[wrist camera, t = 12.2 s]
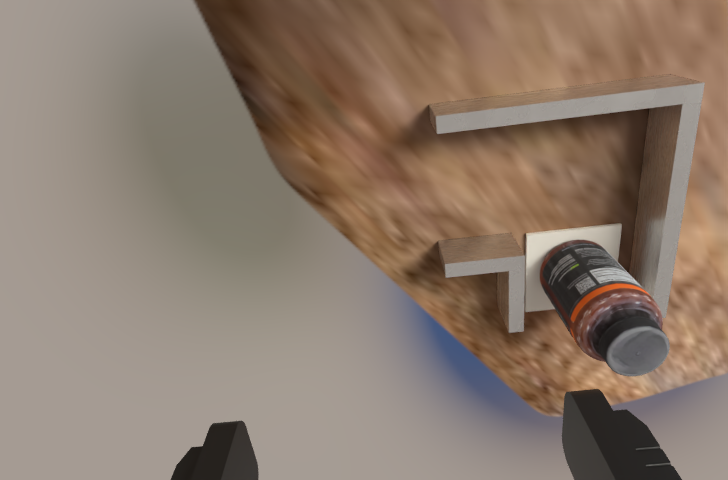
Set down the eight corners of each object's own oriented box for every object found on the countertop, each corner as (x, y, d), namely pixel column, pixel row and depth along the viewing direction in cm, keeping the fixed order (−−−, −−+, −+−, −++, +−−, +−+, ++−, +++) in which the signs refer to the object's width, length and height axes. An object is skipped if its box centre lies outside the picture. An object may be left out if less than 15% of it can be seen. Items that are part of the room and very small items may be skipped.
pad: (525, 233, 41) (526, 235, 41) (620, 223, 41) (622, 224, 40) (524, 310, 44) (525, 312, 44) (611, 301, 44) (613, 303, 44)
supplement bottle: (586, 305, 44) (652, 399, 34) (524, 287, 43) (573, 377, 33) (622, 248, 41) (705, 330, 31) (558, 227, 41) (621, 304, 30)
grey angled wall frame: (429, 104, 37) (435, 116, 33) (670, 73, 36) (704, 82, 32) (442, 311, 44) (449, 338, 41) (640, 290, 43) (665, 317, 40)
